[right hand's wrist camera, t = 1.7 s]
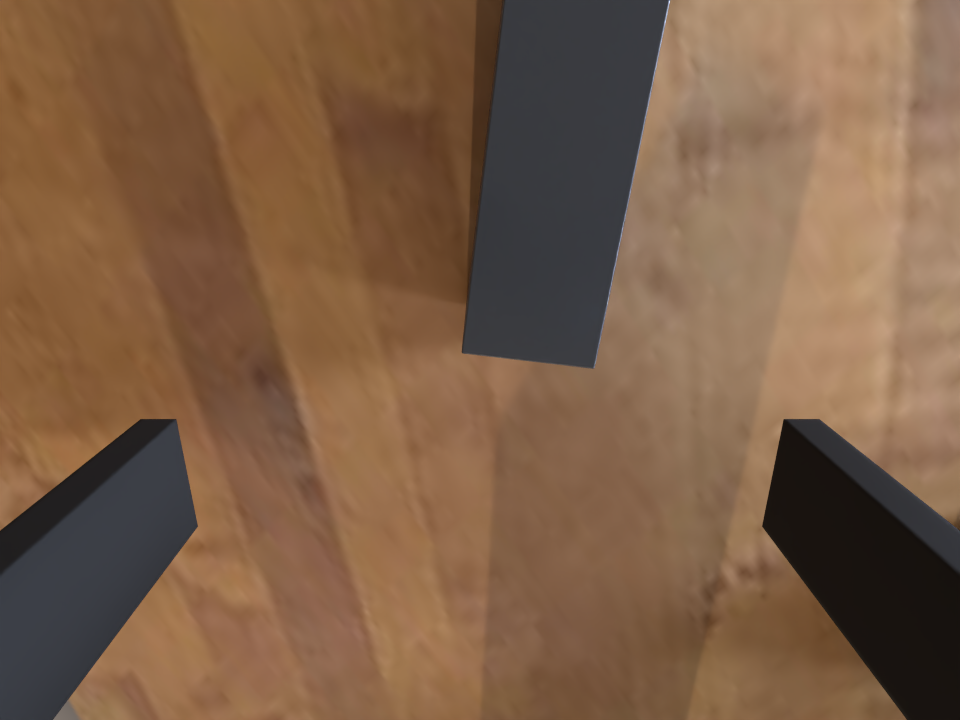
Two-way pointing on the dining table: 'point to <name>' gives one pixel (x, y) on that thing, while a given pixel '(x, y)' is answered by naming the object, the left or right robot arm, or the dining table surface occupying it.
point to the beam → (558, 174)
